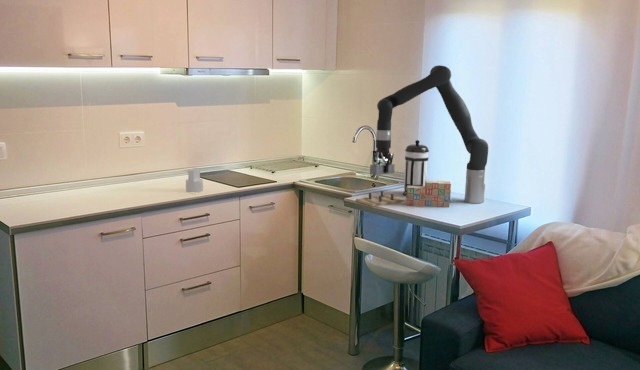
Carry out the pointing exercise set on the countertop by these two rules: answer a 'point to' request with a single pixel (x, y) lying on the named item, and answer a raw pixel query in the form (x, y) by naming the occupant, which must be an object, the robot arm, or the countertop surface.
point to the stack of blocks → (429, 194)
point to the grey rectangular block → (381, 169)
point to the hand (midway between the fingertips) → (382, 171)
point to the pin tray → (380, 200)
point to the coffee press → (415, 165)
